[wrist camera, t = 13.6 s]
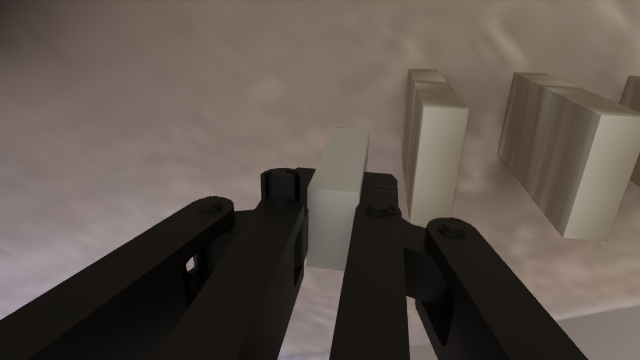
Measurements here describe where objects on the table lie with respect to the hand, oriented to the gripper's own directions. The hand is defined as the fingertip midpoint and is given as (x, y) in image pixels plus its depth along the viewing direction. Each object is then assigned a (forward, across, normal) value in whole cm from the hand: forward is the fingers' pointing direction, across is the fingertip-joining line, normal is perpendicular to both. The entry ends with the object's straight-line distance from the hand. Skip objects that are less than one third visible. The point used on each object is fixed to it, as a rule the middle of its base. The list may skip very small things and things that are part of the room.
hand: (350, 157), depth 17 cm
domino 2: (+8, +10, 0) cm, 13 cm away
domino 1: (+8, +4, 0) cm, 9 cm away
